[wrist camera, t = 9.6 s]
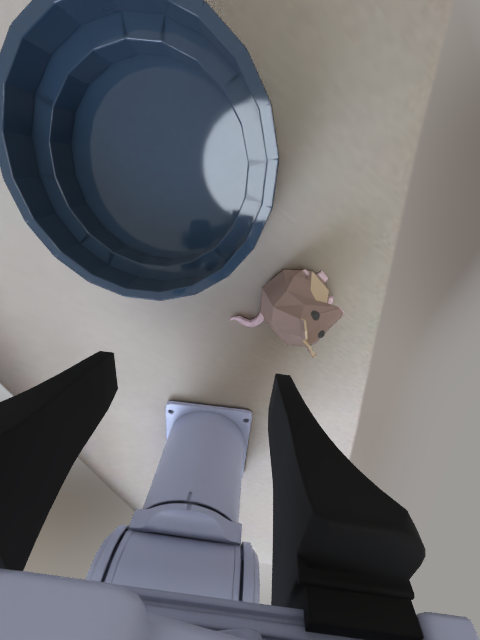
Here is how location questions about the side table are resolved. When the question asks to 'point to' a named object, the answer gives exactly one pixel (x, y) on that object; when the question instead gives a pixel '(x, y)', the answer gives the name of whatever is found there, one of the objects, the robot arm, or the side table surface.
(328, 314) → the mouse figurine
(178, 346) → the side table surface
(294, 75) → the side table surface
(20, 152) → the bowl
